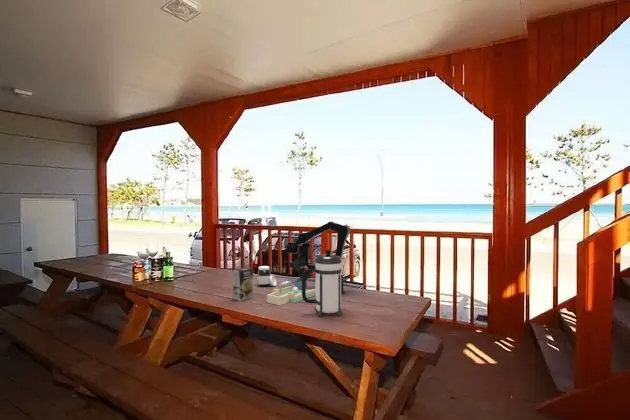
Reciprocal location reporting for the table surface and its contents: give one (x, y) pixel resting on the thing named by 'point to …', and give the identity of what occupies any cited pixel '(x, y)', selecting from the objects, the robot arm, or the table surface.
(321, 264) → the coffee press
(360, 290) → the table surface
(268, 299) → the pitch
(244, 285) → the coffee box
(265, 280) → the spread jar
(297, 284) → the rod
